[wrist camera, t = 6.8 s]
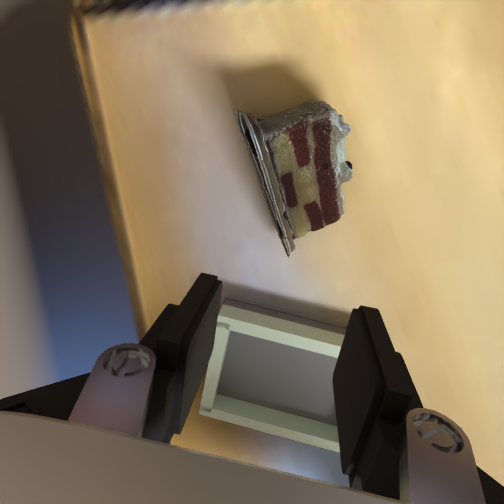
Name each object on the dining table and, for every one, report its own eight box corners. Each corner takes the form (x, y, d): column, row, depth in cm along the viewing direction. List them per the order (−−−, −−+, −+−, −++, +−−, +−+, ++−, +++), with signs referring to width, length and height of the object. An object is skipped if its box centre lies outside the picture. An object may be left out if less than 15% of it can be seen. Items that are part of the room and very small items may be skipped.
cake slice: (369, 236, 29) (387, 115, 19) (289, 266, 29) (263, 163, 19) (324, 161, 34) (318, 34, 24) (256, 187, 34) (221, 72, 24)
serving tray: (388, 339, 33) (397, 361, 30) (349, 429, 37) (353, 456, 34) (225, 298, 34) (218, 315, 31) (206, 391, 38) (198, 414, 35)
